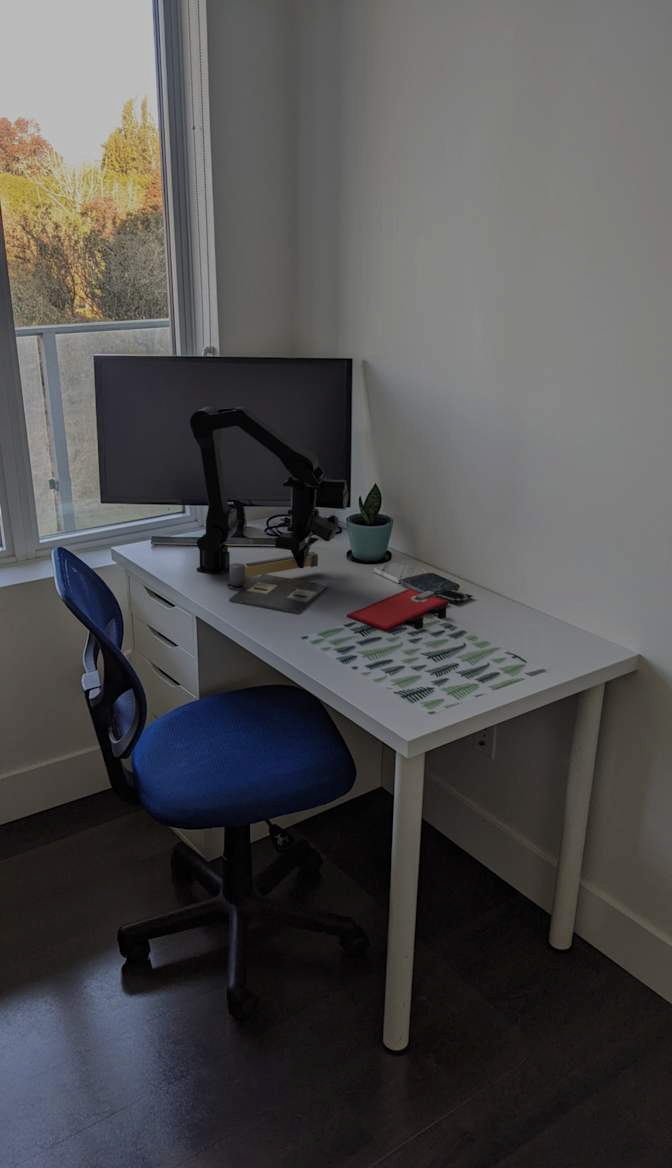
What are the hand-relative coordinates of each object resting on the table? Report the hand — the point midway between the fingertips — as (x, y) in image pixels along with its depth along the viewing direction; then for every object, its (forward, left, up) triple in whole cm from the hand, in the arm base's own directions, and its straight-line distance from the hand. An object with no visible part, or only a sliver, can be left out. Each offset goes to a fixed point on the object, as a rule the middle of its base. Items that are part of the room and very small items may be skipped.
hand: (301, 568), depth 220 cm
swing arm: (-6, -3, -2) cm, 7 cm away
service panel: (-3, -11, -3) cm, 12 cm away
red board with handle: (+31, -6, -4) cm, 31 cm away
